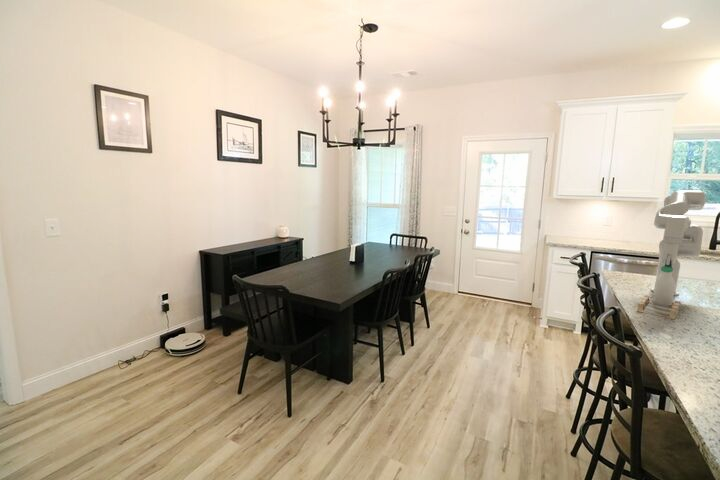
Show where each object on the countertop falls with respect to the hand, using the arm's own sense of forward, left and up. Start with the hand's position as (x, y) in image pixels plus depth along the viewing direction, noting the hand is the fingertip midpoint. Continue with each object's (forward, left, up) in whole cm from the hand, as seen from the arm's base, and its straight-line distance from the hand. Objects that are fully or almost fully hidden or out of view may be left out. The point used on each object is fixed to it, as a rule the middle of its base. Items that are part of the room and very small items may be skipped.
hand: (667, 275), depth 180 cm
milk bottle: (+1, 0, -15) cm, 15 cm away
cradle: (+14, 0, -15) cm, 21 cm away
